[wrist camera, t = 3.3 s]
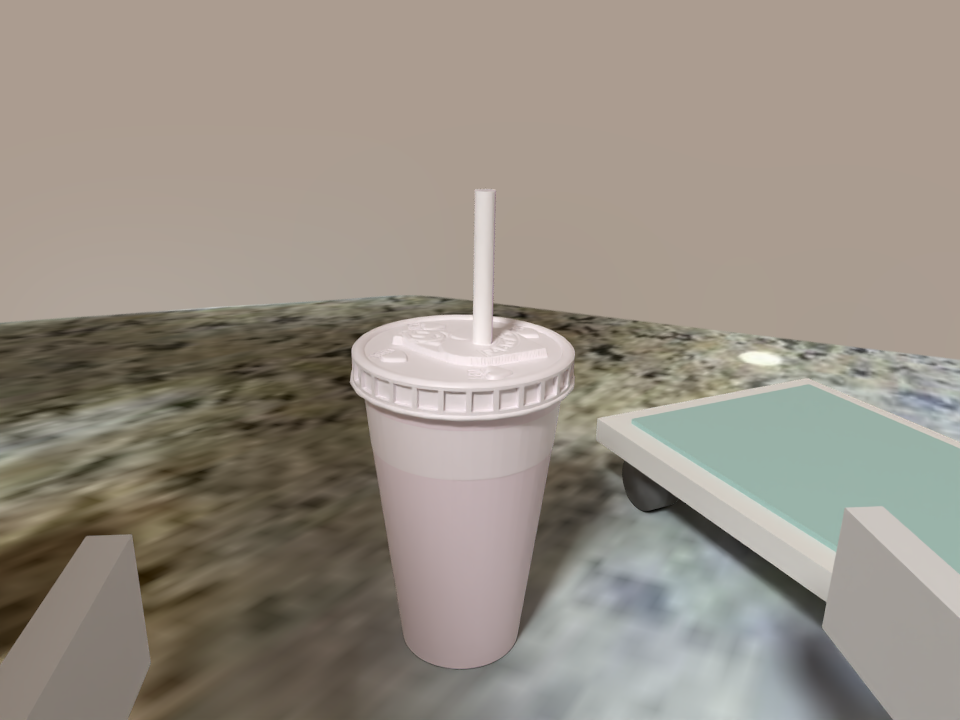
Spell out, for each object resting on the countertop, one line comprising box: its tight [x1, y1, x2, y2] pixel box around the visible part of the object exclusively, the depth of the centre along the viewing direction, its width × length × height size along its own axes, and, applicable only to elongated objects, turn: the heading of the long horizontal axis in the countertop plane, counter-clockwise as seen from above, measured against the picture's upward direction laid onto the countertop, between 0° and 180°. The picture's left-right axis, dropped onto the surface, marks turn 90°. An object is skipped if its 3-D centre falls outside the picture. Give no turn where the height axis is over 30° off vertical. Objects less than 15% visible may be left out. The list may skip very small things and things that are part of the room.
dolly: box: [596, 378, 960, 602], centre depth 30 cm, size 16×12×4 cm
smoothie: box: [350, 189, 575, 669], centre depth 24 cm, size 6×6×14 cm
